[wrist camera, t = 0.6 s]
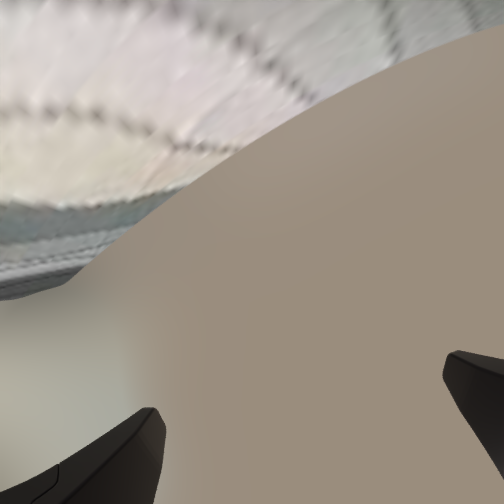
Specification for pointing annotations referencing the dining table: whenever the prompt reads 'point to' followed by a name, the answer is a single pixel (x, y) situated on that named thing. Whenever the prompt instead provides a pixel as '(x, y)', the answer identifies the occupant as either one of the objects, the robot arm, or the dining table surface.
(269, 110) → the dining table surface
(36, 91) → the dining table surface
